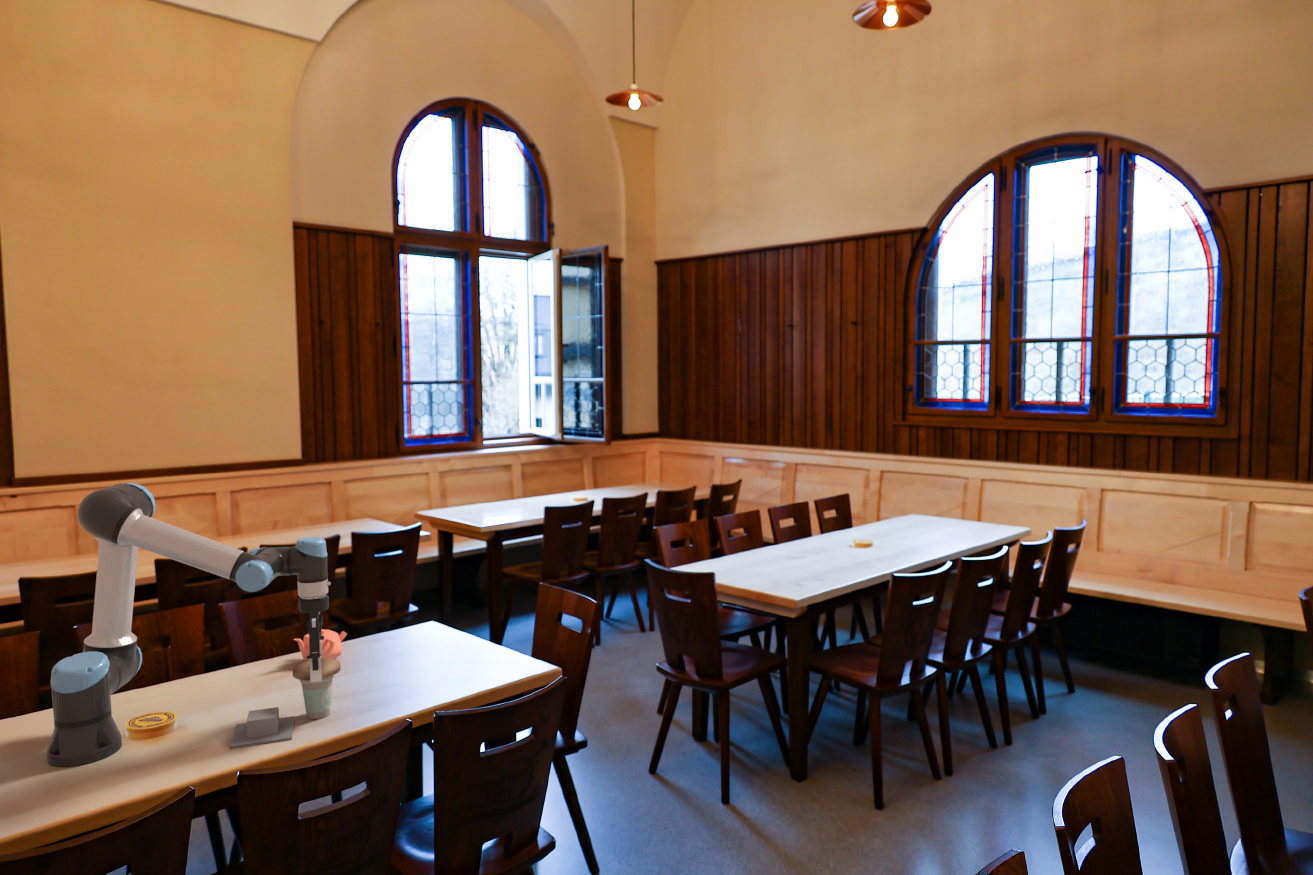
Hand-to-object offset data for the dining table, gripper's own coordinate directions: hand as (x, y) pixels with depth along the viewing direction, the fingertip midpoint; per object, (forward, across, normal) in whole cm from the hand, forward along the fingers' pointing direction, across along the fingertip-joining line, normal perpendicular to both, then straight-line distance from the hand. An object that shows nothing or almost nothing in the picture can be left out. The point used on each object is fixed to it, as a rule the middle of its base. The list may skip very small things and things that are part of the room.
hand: (316, 672), depth 225 cm
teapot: (+12, +46, 0) cm, 48 cm away
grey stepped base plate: (+12, -7, +13) cm, 19 cm away
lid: (0, 0, 0) cm, 0 cm away
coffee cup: (+12, 0, 0) cm, 12 cm away
